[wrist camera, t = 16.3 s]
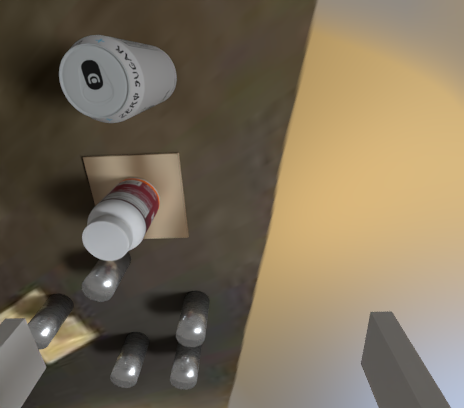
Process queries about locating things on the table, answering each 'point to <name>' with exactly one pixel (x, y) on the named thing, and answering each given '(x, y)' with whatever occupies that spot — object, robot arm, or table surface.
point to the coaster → (155, 172)
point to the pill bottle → (121, 219)
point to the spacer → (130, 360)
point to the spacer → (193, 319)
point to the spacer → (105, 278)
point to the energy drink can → (115, 77)
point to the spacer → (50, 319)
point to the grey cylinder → (185, 366)
